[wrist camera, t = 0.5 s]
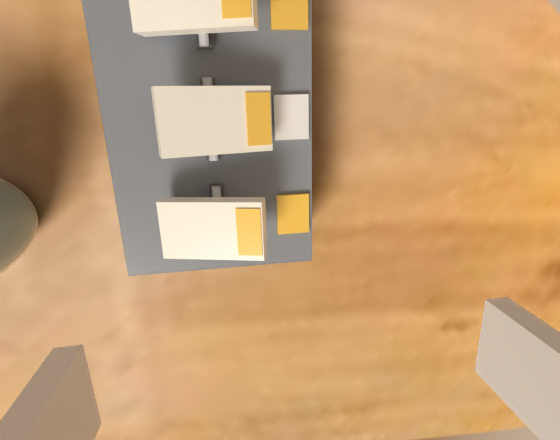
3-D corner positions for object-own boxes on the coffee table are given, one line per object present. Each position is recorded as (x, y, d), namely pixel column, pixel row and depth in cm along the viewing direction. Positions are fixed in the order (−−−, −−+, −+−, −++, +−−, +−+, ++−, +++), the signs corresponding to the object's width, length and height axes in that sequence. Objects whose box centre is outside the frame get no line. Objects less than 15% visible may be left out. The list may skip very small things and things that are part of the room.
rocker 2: (159, 156, 22) (162, 158, 21) (150, 87, 21) (153, 85, 20) (265, 148, 25) (273, 150, 23) (262, 87, 24) (271, 85, 22)
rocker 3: (171, 250, 26) (163, 259, 25) (165, 197, 25) (155, 202, 23) (267, 252, 25) (263, 261, 24) (265, 197, 24) (261, 202, 22)
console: (145, 246, 32) (123, 284, 25) (102, -38, 26) (58, -91, 19) (297, 235, 34) (315, 267, 27) (293, -33, 28) (316, -81, 21)
